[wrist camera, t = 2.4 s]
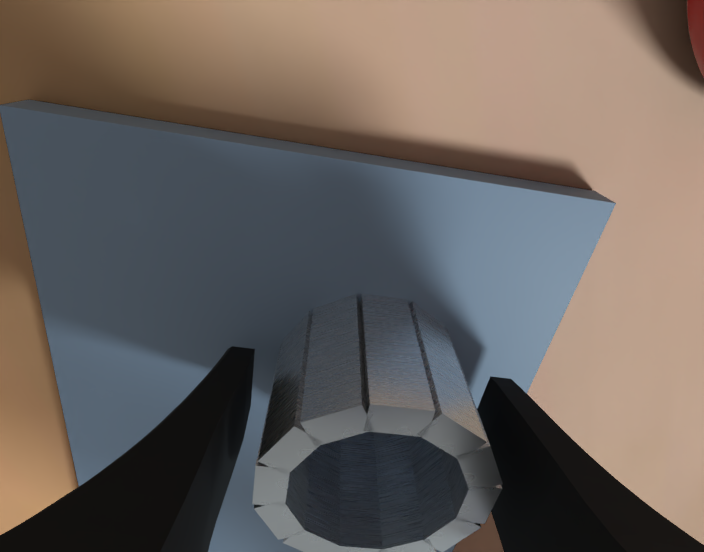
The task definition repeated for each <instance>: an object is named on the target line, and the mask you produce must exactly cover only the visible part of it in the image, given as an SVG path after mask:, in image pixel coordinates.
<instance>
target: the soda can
mask: <svg viewBox="0 0 704 552" xmlns="http://www.w3.org/2000/svg"><path fill="white" fill-rule="evenodd" d="M687 20H688V29H689V35H690V41H691V45H692V49H693V52H694V56H695V59H696V62H697V64H698V67H699V69H700V72H701V74H702V76H703V78H704V0H687Z"/></svg>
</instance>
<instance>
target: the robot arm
mask: <svg viewBox="0 0 704 552" xmlns="http://www.w3.org/2000/svg"><path fill="white" fill-rule="evenodd" d="M254 354H255V349H251V348H243V347H234V346H232V347H230V348H229V349H227V351H226V352H225V353H224V355H223V356H222V357H221V359H220V360H219V361H218V362H217V364H216V365H215V366H214V367H213V368H212V370H211V371H210V372H209V373H208V374H207V375H206V377H205V378H204V379H203V380H202V381H201V382H200V383H199V384H198V385H197V386H196V388H195V389H194V390H193V391H192V392H191V393H190V394H189V395H188V396H187V397H186V398H185V399H184V400H183V401H182V402H181V403H180V404H179V405H178V406H177V407H176V408H175V409H174V410H173V411H172V412H171V413H170V414H169V415H168V416H167V417H166V418H165V419H164V420H163V421H162V422H161V423H159V424H158V425H157V426H156V427H155V428H154V429H153V430H152V431H151V432H149V433H148V434H147V435H146V436H145V437H144V438H142V439H141V440H140V441H139V442H138V443H136V444H135V445H134V446H133V447H132V448H130V449H129V450H128V451H127V452H125V453H124V454H123V455H122V456H120V457H119V458H118V459H116V460H115V461H114V462H112V463H111V464H110V465H108V466H107V467H106V468H104V469H103V470H102V471H100V472H99V473H98V474H96V475H95V476H93V477H92V478H91V479H89V480H88V481H86V482H85V483H84V484H82V485H81V486H79V487H78V488H76V489H75V490H73V491H72V492H70V493H68V494H67V495H65V496H64V497H62V498H61V499H59V500H58V501H56V502H55V503H53V504H51V505H50V506H48V507H47V508H45V509H44V510H42V511H41V512H39V513H38V514H36V515H34V516H33V517H31V518H30V519H28V520H26V521H25V522H23V523H21V524H20V525H18V526H16V527H14V528H13V529H11V530H9V531H7V532H5V533H4V534H2V535H0V552H208V550H209V546H210V542H211V538H212V535H213V531H214V528H215V524H216V521H217V518H218V515H219V512H220V509H221V506H222V503H223V500H224V497H225V494H226V491H227V488H228V485H229V482H230V479H231V476H232V473H233V470H234V467H235V464H236V461H237V458H238V455H239V452H240V449H241V446H242V443H243V439H244V435H245V430H246V426H247V421H248V416H249V412H250V407H251V397H252V383H253V368H254ZM477 411H478V413H479V416H480V419H481V422H482V424H483V427H484V430H485V432H486V435H487V438H488V441H489V443H490V446H491V449H492V452H493V455H494V458H495V461H496V465H497V468H498V471H499V474H500V477H501V480H502V483H503V484H501V486H502V490H501V492H500V494H499V496H498V498H497V500H496V502H495V504H494V506H493V508H492V510H491V512H492V515H493V518H494V521H495V524H496V527H497V531H498V534H499V537H500V540H501V543H502V546H503V550H504V552H704V545H703V544H701V543H700V542H698V541H697V540H695V539H694V538H692V537H691V536H690V535H688V534H687V533H685V532H684V531H683V530H681V529H680V528H678V527H677V526H676V525H674V524H673V523H671V522H670V521H669V520H667V519H666V518H665V517H663V516H662V515H660V514H659V513H658V512H657V511H655V510H654V509H653V508H651V507H650V506H649V505H647V504H646V503H645V502H644V501H642V500H641V499H640V498H639V497H637V496H636V495H635V494H634V493H632V492H631V491H630V490H629V489H627V488H626V487H625V486H624V485H622V484H621V483H620V482H619V481H618V480H616V479H615V478H614V477H613V476H612V475H611V474H609V473H608V472H607V471H606V470H605V469H604V468H603V467H602V466H600V465H599V464H598V463H597V462H596V461H595V460H594V459H593V458H592V457H590V456H589V455H588V454H587V453H586V452H585V451H584V450H583V449H582V448H581V447H580V446H579V445H578V444H577V443H575V442H574V441H573V440H572V439H571V438H570V437H569V436H568V435H567V434H566V433H565V432H564V431H563V430H562V429H561V428H560V427H559V426H558V425H557V424H556V423H555V422H554V421H553V420H552V419H551V418H550V417H549V416H548V415H547V414H546V413H545V412H544V411H543V410H542V409H541V408H540V407H539V406H538V405H537V404H536V403H535V402H534V401H533V400H532V399H531V398H530V397H529V396H528V395H527V394H526V393H525V392H524V391H523V390H522V389H521V388H520V387H519V386H518V385H517V384H516V383H515V382H514V381H513V380H512V379H508V378H500V377H491V376H490V379H489V381H488V383H487V386H486V388H485V391H484V393H483V396H482V398H481V401H480V403H479V406H478V408H477Z"/></svg>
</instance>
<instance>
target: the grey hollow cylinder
mask: <svg viewBox="0 0 704 552" xmlns="http://www.w3.org/2000/svg"><path fill="white" fill-rule="evenodd" d="M501 484H503V483H502V480H501V477H500V474H499V471H498V468H497V465H496V461H495V458H494V455H493V452H492V449H491V446H490V443H489V441H488V438H487V435H486V432H485V430H484V427H483V424H482V422H481V419H480V416H479V413H478V411H477V408H476V405H475V402H474V400H473V397H472V394H471V391H470V389H469V386H468V383H467V380H466V378H465V375H464V372H463V370H462V367H461V364H460V361H459V359H458V356H457V353H456V350H455V348H454V345H453V342H452V339H451V337H450V334H449V331H448V328H447V329H446V327H445V325H444V324H443V323H441V322H440V321H439V320H437V319H436V318H435V317H433V316H432V315H431V314H429V313H428V312H426V311H425V310H424V309H422V308H421V307H420V306H418V305H417V304H415V303H414V302H413V301H412V302H411V303H410V304H408V300H407V299H401V298H393V297H386V296H378V295H371V294H363V293H362V295H361V300H360V301H359V299H358V297H357V294H354V295H351V296H348V297H345V298H342V299H339V300H337V301H334V302H331V303H328V304H325V305H322V306H319V307H316V308H313V313H311V312H310V311H309V312H308V313H307V314H306V315H305V316H304V317H303V318H302V319H301V320H300V322H299V323H298V324H297V325H296V326H295V327H294V328H293V329H292V330H291V331H290V333H289V334H288V335H287V336H286V337H285V338H284V339H283V341H282V344H281V346H280V351H279V356H278V360H277V365H276V370H275V375H274V380H273V384H272V389H271V394H270V399H269V404H268V408H267V413H266V418H265V423H264V428H263V432H262V437H261V442H260V447H259V451H258V456H257V461H256V466H255V478H254V490H253V502H252V504H254V509H255V511H256V512H257V513H258V515H259V516H260V517H261V518H262V520H263V521H264V522H265V523H266V525H267V526H268V527H269V528H270V530H271V531H272V532H273V534H274V535H275V536H276V537H277V539H278V540H280V539H283V543H284V544H287V545H289V546H291V547H293V548H296V549H298V550H300V551H303V552H437V551H436V549H437V550H439V551H441V552H444V551H446V550H447V549H449V548H450V547H452V546H453V545H455V544H456V543H458V542H459V541H461V540H463V539H464V538H466V537H467V536H469V535H470V534H472V533H473V532H475V531H476V530H478V529H480V528H481V525H480V523H481V524H485V522H486V520H487V518H488V516H489V514H490V512H491V510H492V508H493V506H494V504H495V502H496V500H497V498H498V496H499V494H500V492H501V490H502V486H501Z"/></svg>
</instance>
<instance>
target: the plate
mask: <svg viewBox="0 0 704 552" xmlns="http://www.w3.org/2000/svg"><path fill="white" fill-rule="evenodd" d="M0 114H1V118H2V123H3V128H4V133H5V137H6V142H7V147H8V152H9V157H10V161H11V166H12V171H13V176H14V180H15V185H16V190H17V195H18V199H19V204H20V209H21V214H22V218H23V223H24V228H25V233H26V238H27V242H28V247H29V252H30V257H31V261H32V266H33V271H34V276H35V280H36V285H37V290H38V295H39V299H40V304H41V309H42V314H43V319H44V323H45V328H46V333H47V338H48V342H49V347H50V352H51V357H52V361H53V366H54V371H55V376H56V380H57V385H58V390H59V395H60V399H61V404H62V409H63V414H64V419H65V423H66V428H67V433H68V438H69V442H70V447H71V452H72V457H73V461H74V466H75V471H76V476H77V480H78V485H79V486H81V485H82V484H84V483H85V482H86V481H88V480H89V479H91V478H92V477H93V476H95V475H96V474H98V473H99V472H100V471H102V470H103V469H104V468H106V467H107V466H108V465H110V464H111V463H112V462H114V461H115V460H116V459H118V458H119V457H120V456H122V455H123V454H124V453H125V452H127V451H128V450H129V449H130V448H132V447H133V446H134V445H135V444H136V443H138V442H139V441H140V440H141V439H142V438H144V437H145V436H146V435H147V434H148V433H149V432H151V431H152V430H153V429H154V428H155V427H156V426H157V425H158V424H159V423H161V422H162V421H163V420H164V419H165V418H166V417H167V416H168V415H169V414H170V413H171V412H172V411H173V410H174V409H175V408H176V407H177V406H178V405H179V404H180V403H181V402H182V401H183V400H184V399H185V398H186V397H187V396H188V395H189V394H190V393H191V392H192V391H193V390H194V389H195V388H196V386H197V385H198V384H199V383H200V382H201V381H202V380H203V379H204V378H205V377H206V375H207V374H208V373H209V372H210V371H211V370H212V368H213V367H214V366H215V365H216V364H217V362H218V361H219V360H220V359H221V357H222V356H223V355H224V353H225V352H226V351H227V349H229V348H230V347H232V346H234V347H243V348H251V349H255V354H254V368H253V383H252V397H251V407H250V412H249V416H248V421H247V426H246V430H245V435H244V439H243V443H242V446H241V449H240V452H239V455H238V458H237V461H236V464H235V467H234V470H233V473H232V476H231V479H230V482H229V485H228V488H227V491H226V494H225V497H224V500H223V503H222V506H221V509H220V512H219V515H218V518H217V521H216V524H215V528H214V531H213V535H212V538H211V542H210V546H209V550H208V552H303V551H300V550H298V549H296V548H293V547H291V546H289V545H287V544H284V543H283V539H280V540H278V539H277V537H276V536H275V535H274V534H273V532H272V531H271V530H270V528H269V527H268V526H267V525H266V523H265V522H264V521H263V520H262V518H261V517H260V516H259V515H258V513H257V512H256V511H255V509H254V504H252V502H253V490H254V478H255V466H256V461H257V456H258V451H259V447H260V442H261V437H262V432H263V428H264V423H265V418H266V413H267V408H268V404H269V399H270V394H271V389H272V384H273V380H274V375H275V370H276V365H277V360H278V356H279V351H280V346H281V344H282V341H283V339H284V338H285V337H286V336H287V335H288V334H289V333H290V331H291V330H292V329H293V328H294V327H295V326H296V325H297V324H298V323H299V322H300V320H301V319H302V318H303V317H304V316H305V315H306V314H307V313H308V312H309V311H310V312H311V313H313V308H316V307H319V306H322V305H325V304H328V303H331V302H334V301H337V300H339V299H342V298H345V297H348V296H351V295H354V294H357V297H358V299H359V301H360V300H361V295H362V293H363V294H371V295H378V296H386V297H393V298H401V299H407V300H408V304H410V303H411V302H412V301H413V302H414V303H415V304H417V305H418V306H420V307H421V308H422V309H424V310H425V311H426V312H428V313H429V314H431V315H432V316H433V317H435V318H436V319H437V320H439V321H440V322H441V323H443V324H444V325H445V327H446V329H447V328H448V331H449V334H450V337H451V339H452V342H453V345H454V348H455V350H456V353H457V356H458V359H459V361H460V364H461V367H462V370H463V372H464V375H465V378H466V380H467V383H468V386H469V389H470V391H471V394H472V397H473V400H474V402H475V405H476V408H478V406H479V403H480V401H481V398H482V396H483V393H484V391H485V388H486V386H487V383H488V381H489V379H490V376H491V377H500V378H508V379H512V380H513V381H514V382H515V383H516V384H517V385H518V386H519V387H520V388H521V389H522V390H523V391H524V392H525V393H526V394H527V392H528V389H529V387H530V385H531V383H532V381H533V379H534V377H535V375H536V372H537V370H538V368H539V366H540V364H541V362H542V360H543V357H544V355H545V353H546V351H547V349H548V347H549V345H550V343H551V340H552V338H553V336H554V334H555V332H556V330H557V328H558V325H559V323H560V321H561V319H562V317H563V315H564V313H565V311H566V308H567V306H568V304H569V302H570V300H571V298H572V296H573V294H574V291H575V289H576V287H577V285H578V283H579V281H580V279H581V276H582V274H583V272H584V270H585V268H586V266H587V264H588V262H589V259H590V257H591V255H592V253H593V251H594V249H595V247H596V244H597V242H598V240H599V238H600V236H601V234H602V232H603V230H604V227H605V225H606V223H607V221H608V219H609V217H610V215H611V213H612V210H613V208H614V206H615V204H616V203H614V202H613V201H611V200H609V199H608V198H606V197H604V196H603V195H601V194H599V193H597V192H596V191H592V190H586V189H580V188H574V187H568V186H561V185H555V184H549V183H543V182H537V181H530V180H524V179H518V178H512V177H506V176H500V175H493V174H487V173H481V172H475V171H469V170H462V169H456V168H450V167H444V166H438V165H431V164H425V163H419V162H413V161H407V160H400V159H394V158H388V157H382V156H376V155H369V154H363V153H357V152H351V151H345V150H338V149H332V148H326V147H320V146H314V145H307V144H301V143H295V142H289V141H283V140H276V139H270V138H264V137H258V136H252V135H245V134H239V133H233V132H227V131H221V130H214V129H208V128H202V127H196V126H190V125H183V124H177V123H171V122H165V121H159V120H152V119H146V118H140V117H134V116H128V115H121V114H115V113H109V112H103V111H97V110H90V109H84V108H78V107H72V106H66V105H59V104H53V103H47V102H41V101H35V100H24V101H18V102H13V103H7V104H1V105H0ZM455 545H456V544H455ZM455 545H453V546H452V547H450V548H449V549H447V550H446V551H444V552H452V551H453V549H454V547H455ZM436 551H437V552H441V551H439V550H437V549H436Z"/></svg>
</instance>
